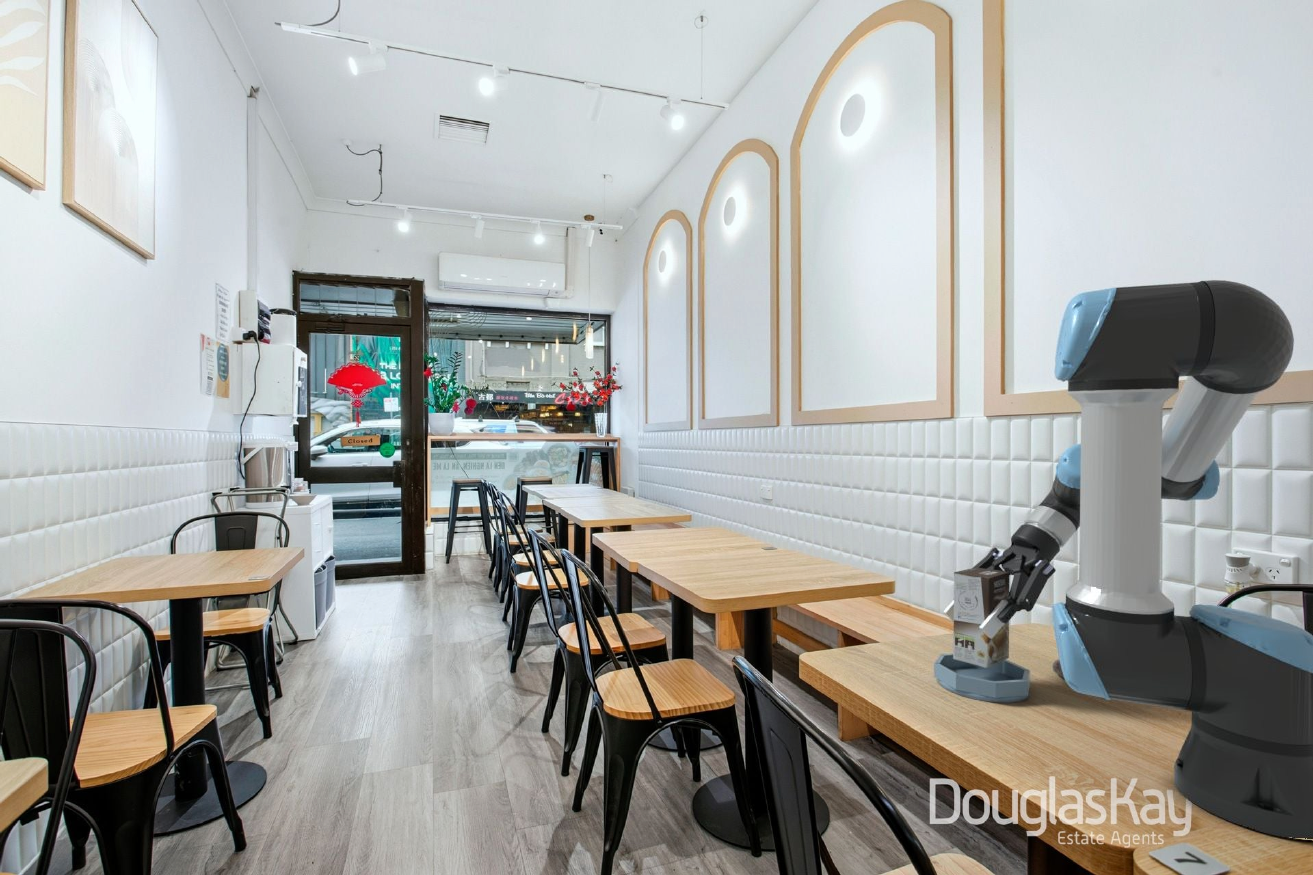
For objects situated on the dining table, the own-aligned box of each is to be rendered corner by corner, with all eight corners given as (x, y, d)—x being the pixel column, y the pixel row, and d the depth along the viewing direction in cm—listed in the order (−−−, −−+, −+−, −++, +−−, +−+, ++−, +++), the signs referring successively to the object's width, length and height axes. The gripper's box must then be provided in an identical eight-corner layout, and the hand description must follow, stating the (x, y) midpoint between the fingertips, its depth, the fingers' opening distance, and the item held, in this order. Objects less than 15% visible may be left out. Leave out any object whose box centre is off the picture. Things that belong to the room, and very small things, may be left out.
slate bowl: (1049, 699, 109) (1049, 679, 109) (972, 705, 106) (972, 684, 106) (988, 669, 123) (988, 651, 123) (920, 673, 121) (920, 655, 121)
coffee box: (988, 669, 110) (988, 578, 110) (952, 659, 115) (952, 572, 115) (1010, 658, 116) (1010, 571, 116) (974, 649, 121) (975, 566, 121)
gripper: (1105, 560, 107) (1024, 658, 104) (1010, 540, 129) (941, 621, 126) (1078, 530, 106) (996, 628, 103) (988, 515, 128) (917, 596, 125)
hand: (966, 624), depth 115 cm, fingers closed on coffee box, 9 cm apart
